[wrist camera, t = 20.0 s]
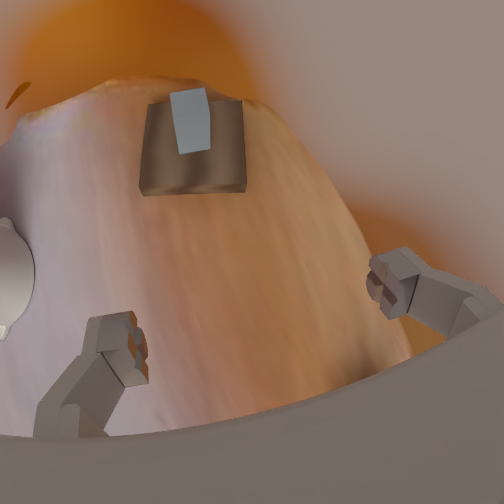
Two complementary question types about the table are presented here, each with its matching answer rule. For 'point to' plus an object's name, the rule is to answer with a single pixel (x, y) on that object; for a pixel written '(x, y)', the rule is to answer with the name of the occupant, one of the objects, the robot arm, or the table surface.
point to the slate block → (191, 120)
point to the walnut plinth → (194, 154)
